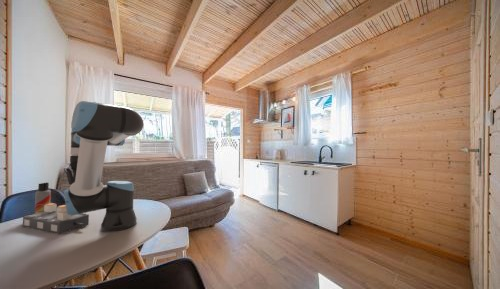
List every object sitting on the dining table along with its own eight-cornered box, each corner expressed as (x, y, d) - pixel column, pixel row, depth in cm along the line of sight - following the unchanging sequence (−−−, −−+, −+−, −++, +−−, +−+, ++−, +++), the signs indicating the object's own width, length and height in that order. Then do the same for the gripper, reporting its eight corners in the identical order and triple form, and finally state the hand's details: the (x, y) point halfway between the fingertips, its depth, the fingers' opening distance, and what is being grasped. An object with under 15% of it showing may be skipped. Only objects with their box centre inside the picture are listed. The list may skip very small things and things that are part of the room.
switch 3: (56, 210, 98) (56, 203, 98) (49, 212, 95) (49, 205, 95) (51, 209, 99) (51, 202, 99) (44, 211, 96) (44, 204, 96)
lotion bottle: (39, 219, 98) (40, 183, 99) (31, 218, 99) (33, 183, 100) (52, 216, 104) (53, 182, 104) (45, 215, 105) (46, 181, 105)
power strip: (96, 225, 93) (97, 214, 93) (67, 236, 81) (68, 224, 81) (53, 217, 101) (54, 208, 101) (21, 226, 90) (22, 216, 90)
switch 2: (69, 212, 96) (69, 205, 96) (61, 214, 93) (62, 207, 93) (63, 211, 97) (64, 204, 97) (56, 213, 94) (57, 206, 94)
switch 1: (70, 218, 88) (71, 210, 88) (63, 220, 85) (63, 212, 85) (65, 217, 89) (65, 209, 89) (57, 219, 86) (57, 211, 86)
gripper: (87, 154, 109) (86, 192, 109) (60, 155, 96) (58, 198, 96) (96, 154, 107) (95, 193, 107) (70, 155, 94) (68, 200, 94)
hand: (77, 196), depth 101 cm, fingers closed
